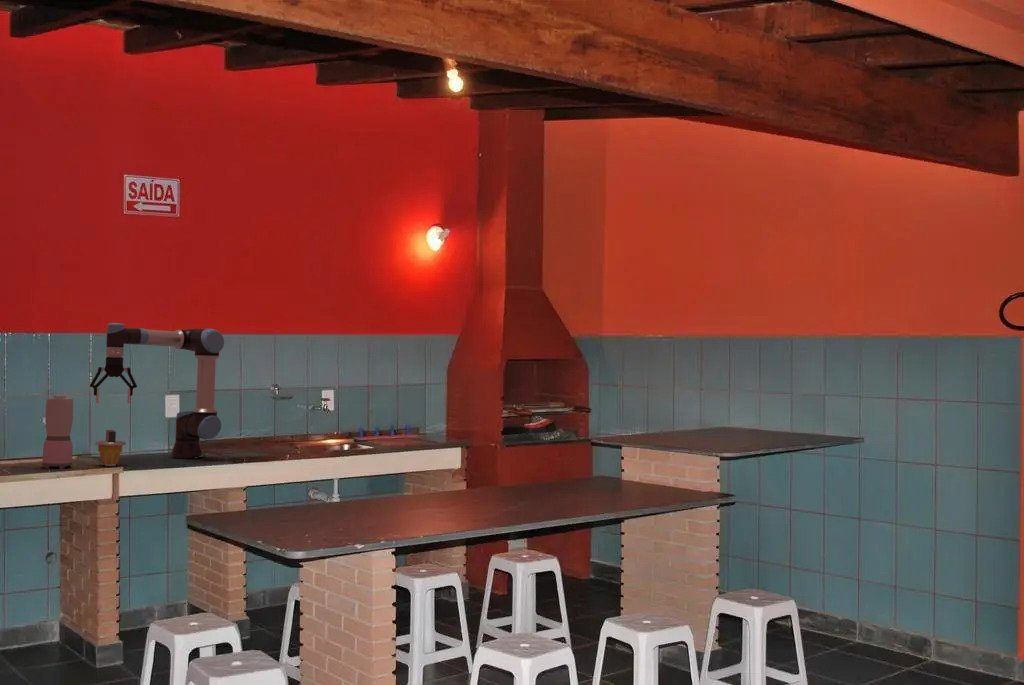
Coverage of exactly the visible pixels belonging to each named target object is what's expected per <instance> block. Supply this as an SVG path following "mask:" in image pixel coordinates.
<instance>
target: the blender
mask: <svg viewBox="0 0 1024 685" xmlns="http://www.w3.org/2000/svg"><path fill="white" fill-rule="evenodd" d="M44 415H45V419H44V420H45V422H44V423H45V429H46V430H45V431H46V439H45V440H44V442H43V445H42V464H41V465H42V466H43V467H44V469H50V467H58V468H59V470H64V469H65V467H67V466H73V450H74V447H73V442H72V440H71V431H72V427H73V422H74V420H73V419H74V399H73V398H71V397H67V395H63V394H62V395H61V394H56V395H55V394H54V395H53V397H47V399H46V402H45V414H44ZM63 468H64V469H63Z"/></svg>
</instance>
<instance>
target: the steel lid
mask: <svg viewBox="0 0 1024 685" xmlns="http://www.w3.org/2000/svg"><path fill="white" fill-rule="evenodd" d="M105 430H106V431H105V440H96V441H95V443H94V445H96V446H98V445H102V446H121V445H122V446H126V441H123V440H116V438H117V436H116V433H117V432H116V430H114V429H105Z"/></svg>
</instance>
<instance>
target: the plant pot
mask: <svg viewBox="0 0 1024 685" xmlns="http://www.w3.org/2000/svg"><path fill="white" fill-rule="evenodd" d="M97 446H98V447H97V448H98V449H97V451H98V453H99V456H100V464H101V463H103V464H117V465H118V463H119V459H120V455H121V453H122V452H123V445H121V446H102V445H97Z"/></svg>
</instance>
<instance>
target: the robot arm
mask: <svg viewBox="0 0 1024 685" xmlns="http://www.w3.org/2000/svg"><path fill="white" fill-rule="evenodd" d="M105 343H106V346H105V347H106V348H105V356H106V357H105V367H101V366H98V368H97V372H96V373H95V375H94V377H93V378H92V381H91V382H90V384H89V387H90V388H93V395H94V396H95V397H96V398H95V403H96V404H99V397H100V396H99V395H100V393H99V392H100V388H99V387H100V386H101V384H103V382H104V381H106V379H107V378H108V377H110V378H113V377H114V378H119V377H120V378H121V380H122V381H123V382H124V383H125V385H126V386H127V387H128V388H127V398H126V399H127V400H126V402H127V404H131V396H132V397H133V392H134V390H133V389H136V388H137V387H138V384H137V382H136V381H135V379H134V376H133V374H132V372H131V368H130V367H124V346H125V345H139V346H140V345H142V346H154V347H155V346H156V347H157V346H158V347H159V346H160V347H174V349H178V350H184V351H185V350H186V351H190V352H194V357H195V358H196V359H197V370H196V372H197V373H196V374H197V375H196V396H195V397H196V400H195V401H196V402H195V408H194V409H193V410H188V411H186V410H185V411H179V412H177V413H176V416H175V441H174V445H173V447H172V450H171V452H170V457H171V458H173V459H182V458H183V459H185V460H186V458H194V459H196V458H195V457H199V456H201V455H203V449H202V447H201V443H200V440H201V439H203V440H212V439H214V438H215V437H217V435H219V433H220V431H221V428H222V422H221V420H220V418H219V417H218V411H217V410H216V409H215V394H216V393H215V389H216V365H217V364H216V362H217V361H216V360H218V358H220V352H221V351H222V349H223V348H224V345H225V339H224V336H223V334H222V333H221V332H220V331H218V330H216V329H213V328H188V329H176V330H161V329H160V330H159V329H146V328H140V327H136V328H134V327H125V324H124V323H119V322H118V323H116V322H109V323H108V324H107V327H106V342H105ZM104 371H105V374H104V375H103V376H102V377H101V378H100V379H99V381H97V380H98V378H99V377H100V375H101V373H103V372H104ZM124 371H125V373H126V374H127V376H128V378H129V380H130V382H131V383H130V382H129V380H128V379H127V378H126V377H125V375H124V374H123V372H124ZM203 456H204V455H203Z"/></svg>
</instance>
